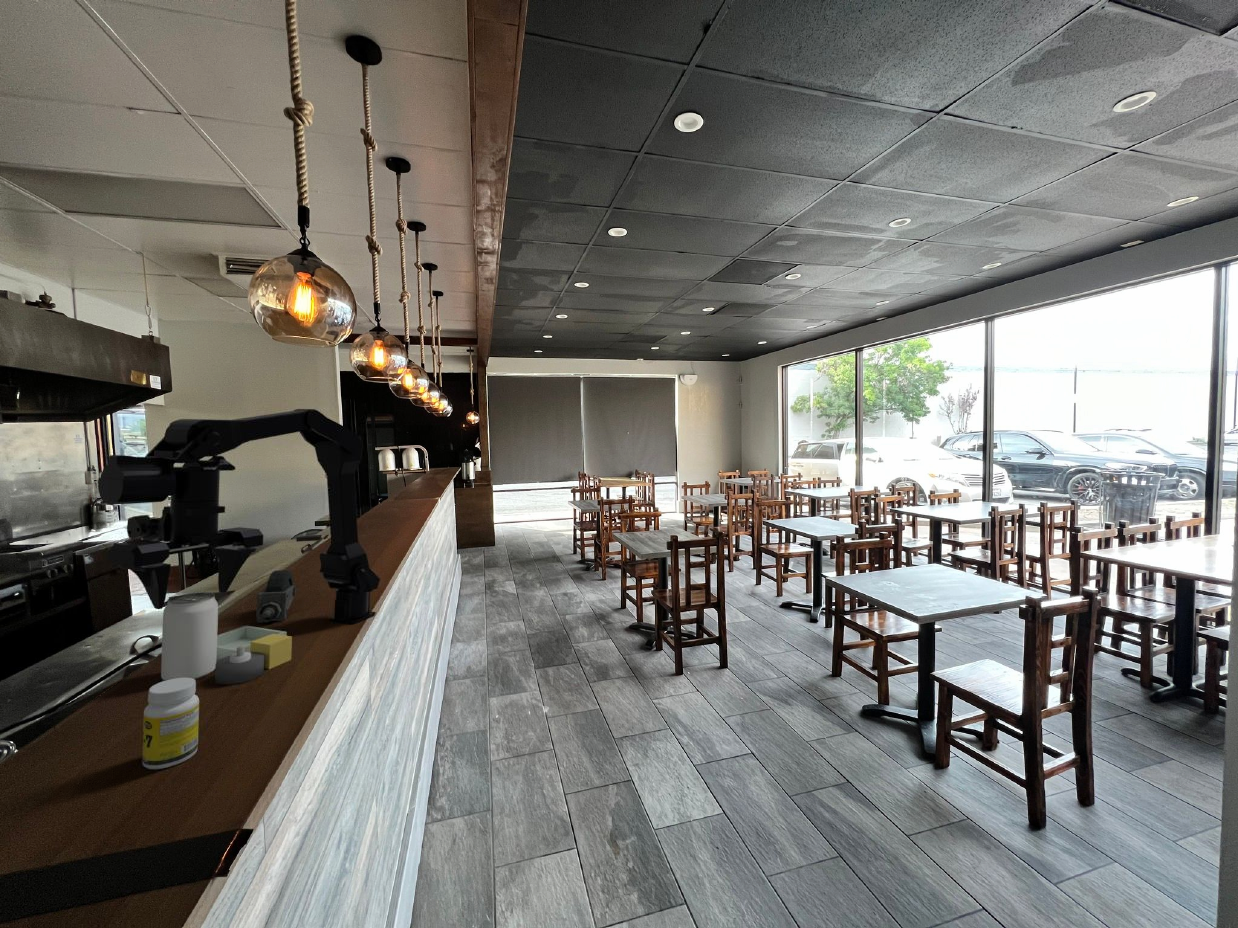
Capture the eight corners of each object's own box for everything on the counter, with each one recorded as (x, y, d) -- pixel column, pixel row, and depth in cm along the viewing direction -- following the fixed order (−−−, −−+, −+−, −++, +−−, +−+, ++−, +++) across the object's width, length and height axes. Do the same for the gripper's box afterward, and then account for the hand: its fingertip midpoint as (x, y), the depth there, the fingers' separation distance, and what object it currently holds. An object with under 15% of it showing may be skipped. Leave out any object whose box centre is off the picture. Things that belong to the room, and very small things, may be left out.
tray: (245, 639, 91) (246, 625, 91) (286, 645, 89) (286, 631, 89) (192, 658, 82) (192, 643, 82) (235, 665, 80) (236, 650, 80)
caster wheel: (269, 612, 109) (246, 628, 95) (272, 568, 110) (249, 577, 96) (299, 610, 111) (280, 626, 97) (301, 567, 112) (283, 576, 98)
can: (183, 685, 73) (186, 605, 73) (149, 680, 74) (151, 600, 74) (226, 668, 79) (229, 593, 79) (194, 663, 81) (196, 589, 80)
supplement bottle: (141, 755, 56) (143, 683, 56) (195, 740, 60) (198, 671, 60) (142, 776, 53) (144, 698, 53) (199, 759, 56) (201, 685, 56)
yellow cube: (272, 656, 84) (273, 633, 84) (291, 659, 83) (292, 636, 83) (249, 666, 81) (250, 641, 81) (269, 669, 80) (270, 644, 80)
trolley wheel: (243, 665, 80) (244, 638, 80) (272, 670, 79) (273, 643, 79) (204, 680, 75) (205, 652, 75) (235, 686, 73) (236, 657, 73)
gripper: (217, 493, 87) (214, 580, 88) (80, 501, 69) (77, 611, 70) (267, 497, 85) (264, 587, 85) (138, 506, 67) (135, 621, 67)
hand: (192, 600), depth 77 cm, fingers open, 9 cm apart
